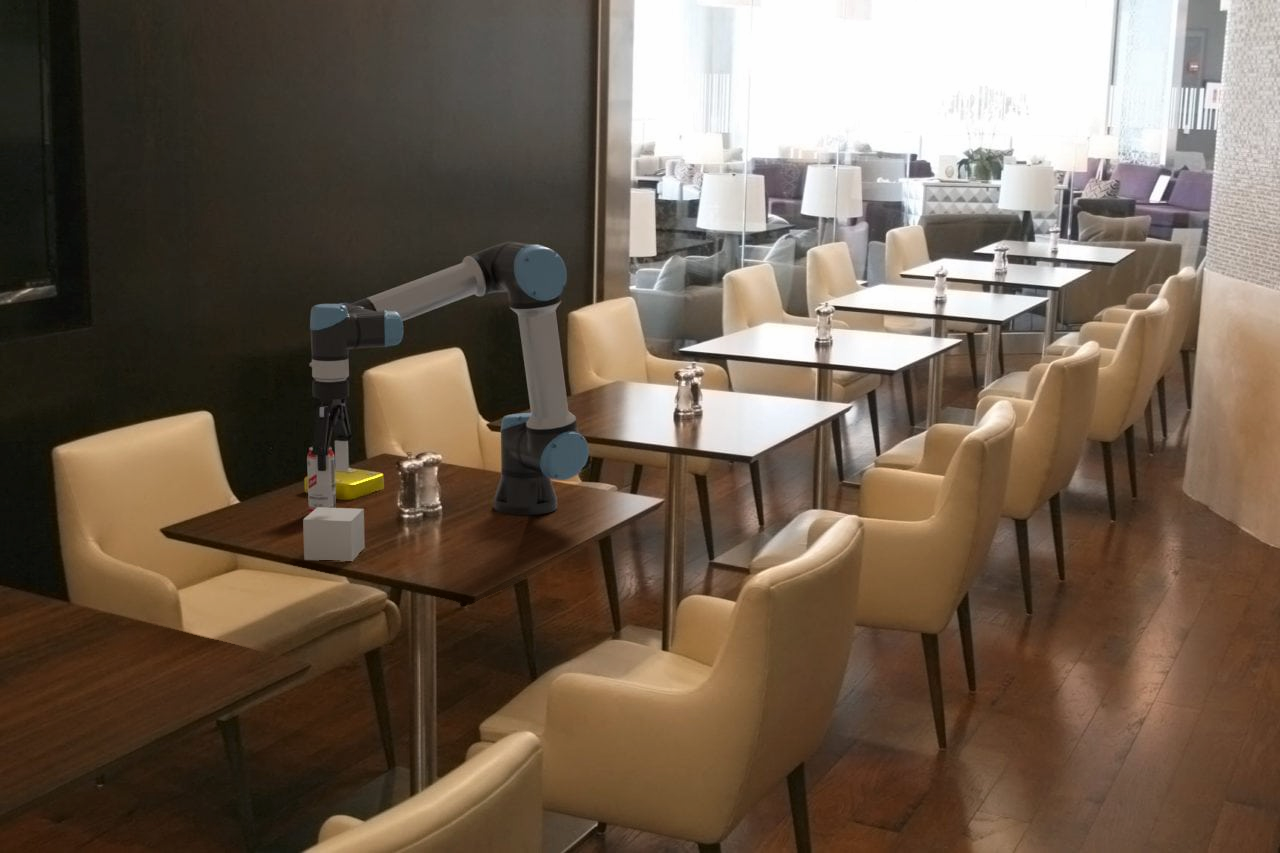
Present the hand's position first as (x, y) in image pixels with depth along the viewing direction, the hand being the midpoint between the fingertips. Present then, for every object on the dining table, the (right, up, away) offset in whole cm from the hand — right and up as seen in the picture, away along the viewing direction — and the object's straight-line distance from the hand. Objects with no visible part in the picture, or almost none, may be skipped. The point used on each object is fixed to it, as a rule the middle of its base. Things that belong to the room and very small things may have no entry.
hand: (333, 478), depth 316 cm
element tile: (-9, -6, +58) cm, 59 cm away
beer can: (-10, -10, +35) cm, 37 cm away
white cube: (0, -16, +3) cm, 17 cm away
